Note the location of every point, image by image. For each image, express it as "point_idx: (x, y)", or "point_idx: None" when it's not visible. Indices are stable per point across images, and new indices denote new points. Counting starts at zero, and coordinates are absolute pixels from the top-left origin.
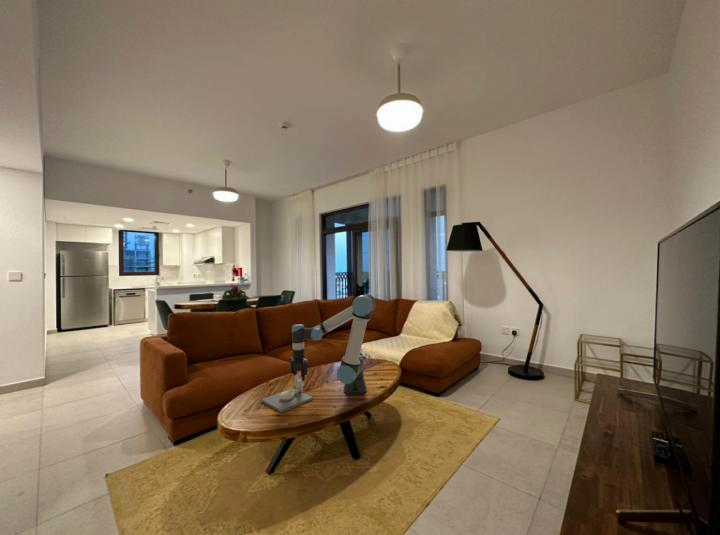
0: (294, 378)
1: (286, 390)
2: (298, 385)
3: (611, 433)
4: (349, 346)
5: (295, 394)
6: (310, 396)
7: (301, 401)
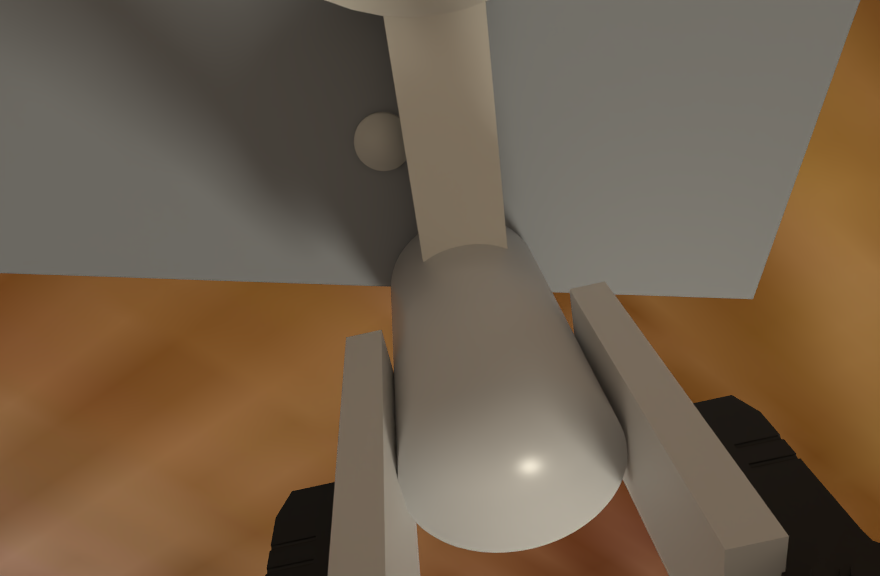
0: (733, 433)
1: (801, 144)
2: (440, 314)
3: None
4: None
5: None
6: (21, 262)
7: None
